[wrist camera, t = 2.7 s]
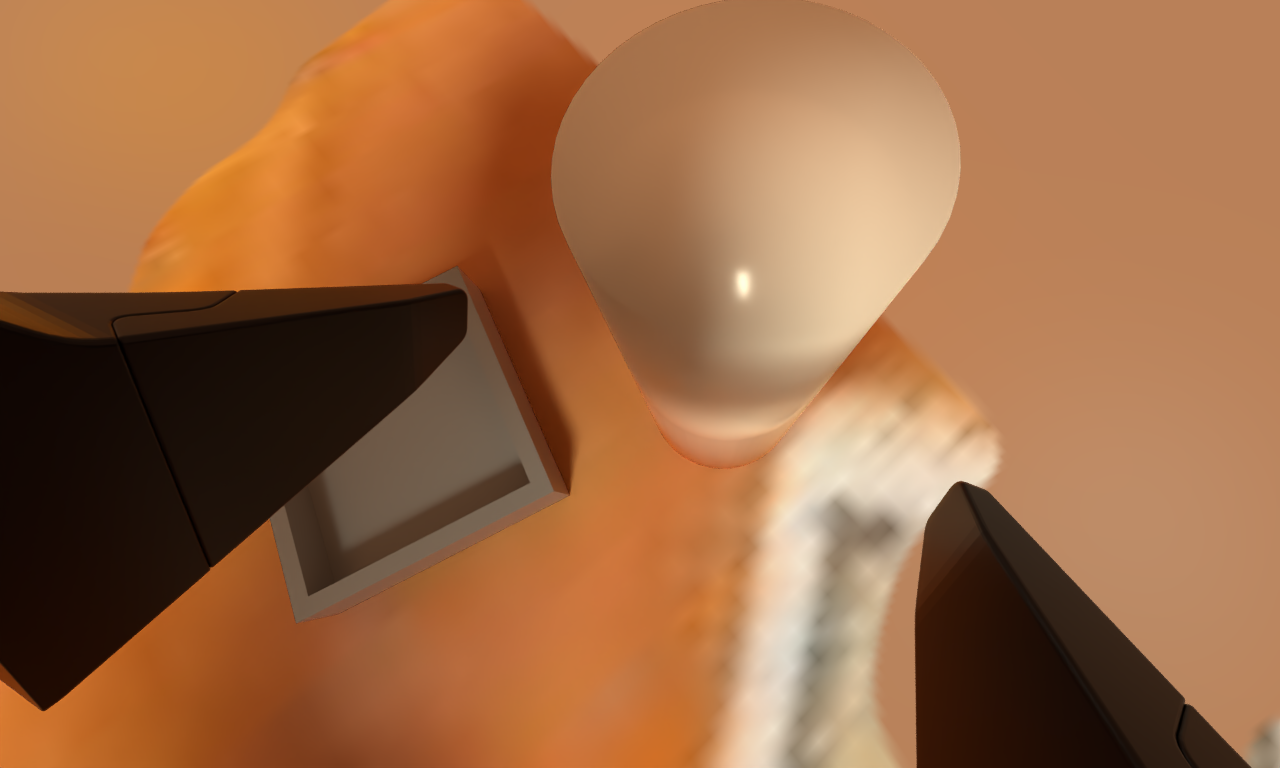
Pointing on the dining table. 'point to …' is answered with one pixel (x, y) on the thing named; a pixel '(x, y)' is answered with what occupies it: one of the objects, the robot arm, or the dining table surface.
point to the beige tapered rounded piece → (750, 207)
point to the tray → (421, 479)
